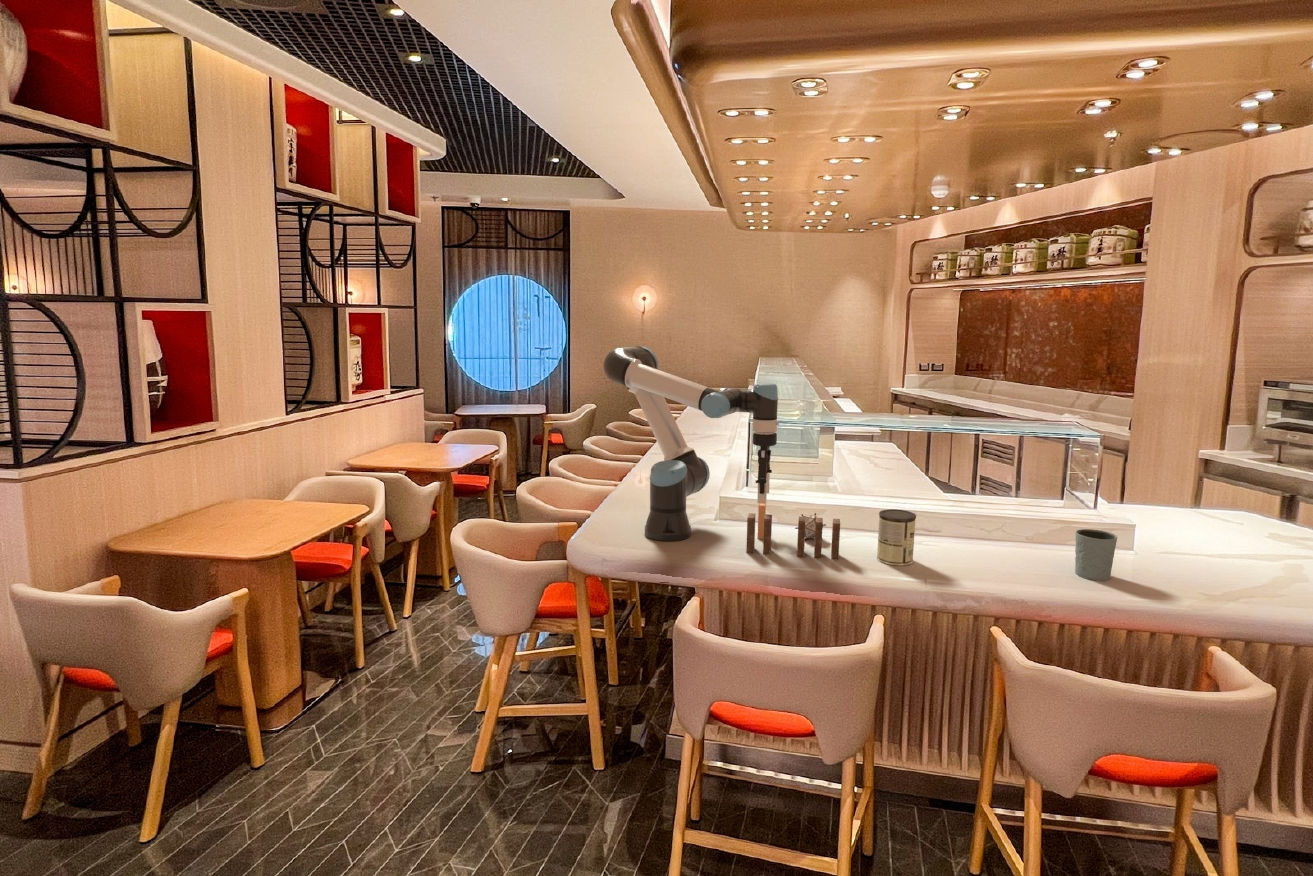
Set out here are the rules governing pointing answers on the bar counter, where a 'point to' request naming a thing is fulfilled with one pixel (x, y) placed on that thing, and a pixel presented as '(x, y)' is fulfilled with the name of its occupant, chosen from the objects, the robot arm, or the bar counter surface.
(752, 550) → the domino
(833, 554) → the domino
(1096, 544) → the grey green cup
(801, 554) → the domino
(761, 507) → the domino
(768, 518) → the domino
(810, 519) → the game die
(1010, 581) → the bar counter surface
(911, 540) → the coffee can
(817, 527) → the domino
